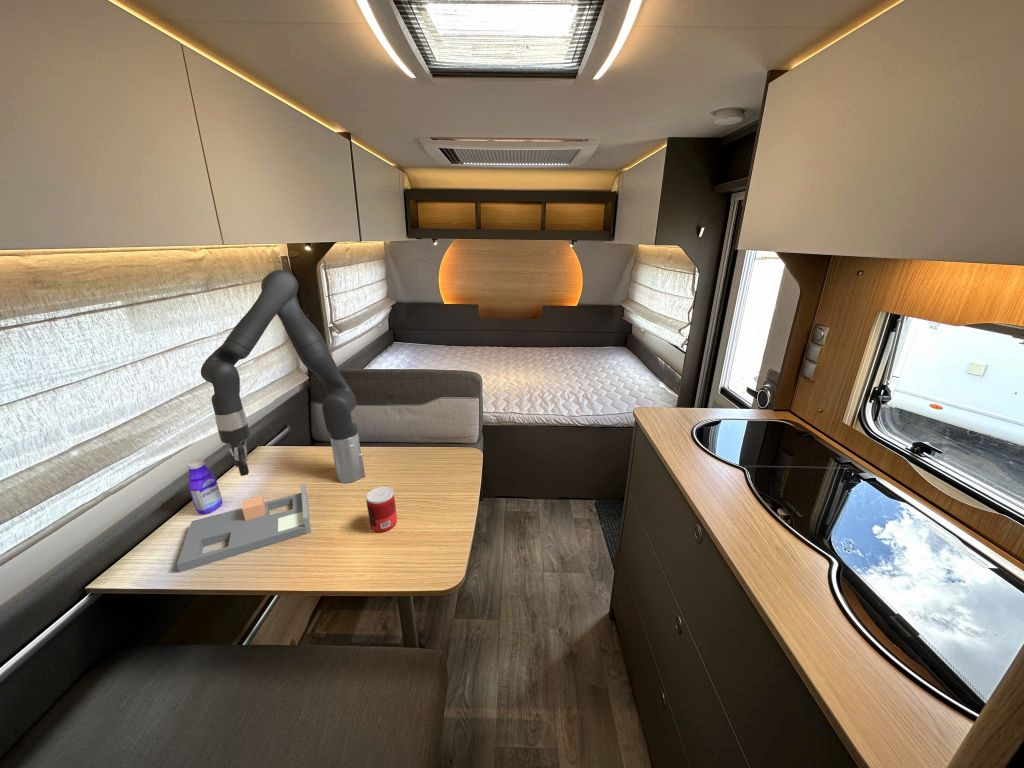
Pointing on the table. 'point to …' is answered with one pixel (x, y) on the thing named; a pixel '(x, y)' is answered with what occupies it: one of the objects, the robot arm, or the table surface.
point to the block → (253, 508)
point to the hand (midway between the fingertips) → (244, 474)
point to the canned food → (381, 509)
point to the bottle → (203, 487)
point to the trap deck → (244, 531)
